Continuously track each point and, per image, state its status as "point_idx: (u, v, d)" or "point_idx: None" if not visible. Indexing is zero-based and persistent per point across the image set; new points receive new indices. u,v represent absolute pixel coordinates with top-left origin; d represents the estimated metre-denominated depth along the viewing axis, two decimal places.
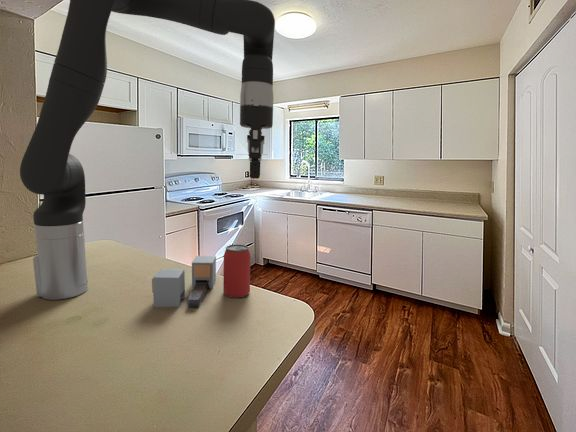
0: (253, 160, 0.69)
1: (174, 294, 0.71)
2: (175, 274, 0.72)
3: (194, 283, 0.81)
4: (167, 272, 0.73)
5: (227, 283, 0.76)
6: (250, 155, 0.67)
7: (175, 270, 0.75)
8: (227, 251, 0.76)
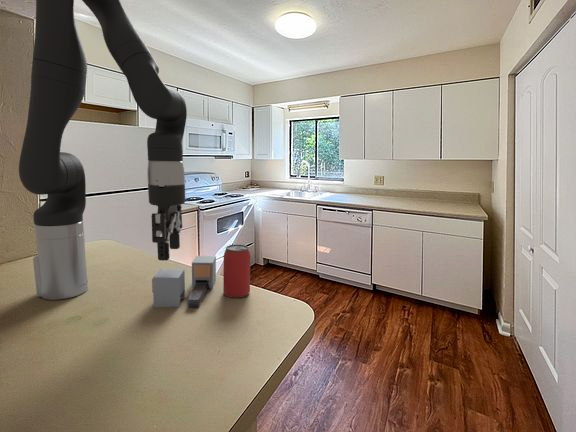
0: (159, 243, 0.66)
1: (174, 294, 0.71)
2: (175, 274, 0.72)
3: (194, 283, 0.81)
4: (167, 272, 0.73)
5: (227, 283, 0.76)
6: (153, 240, 0.64)
7: (175, 270, 0.75)
8: (227, 251, 0.76)
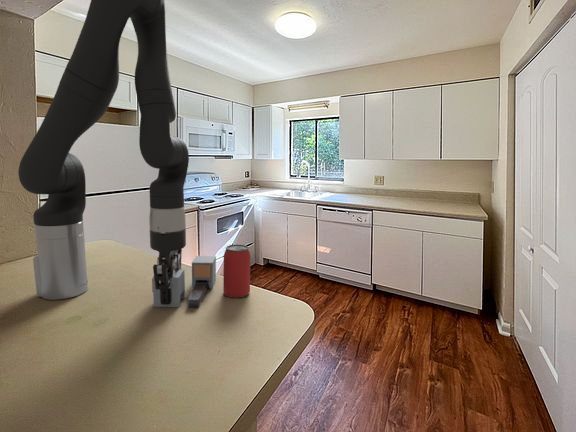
0: (162, 289, 0.69)
1: (174, 294, 0.71)
2: (175, 274, 0.72)
3: (194, 283, 0.81)
4: None
5: (227, 283, 0.76)
6: (157, 288, 0.67)
7: None
8: (227, 251, 0.76)
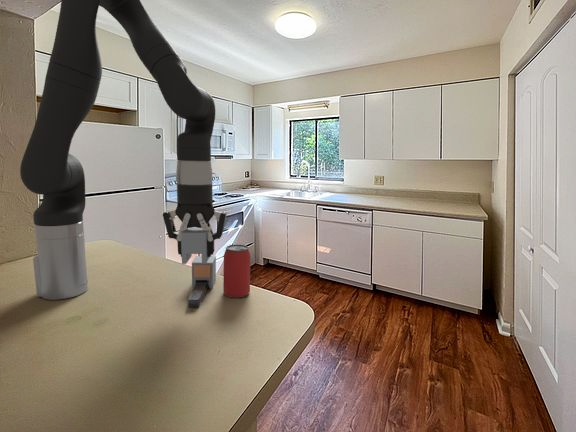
0: None
1: None
2: (190, 231, 0.70)
3: (194, 283, 0.81)
4: (197, 229, 0.72)
5: (227, 283, 0.76)
6: None
7: None
8: (227, 251, 0.76)
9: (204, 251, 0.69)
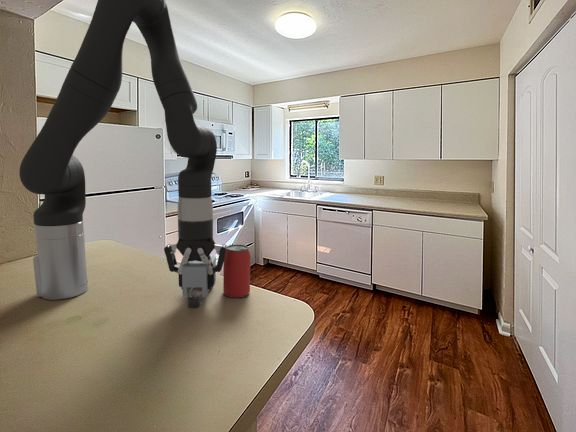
0: None
1: None
2: (191, 265, 0.71)
3: None
4: (198, 262, 0.73)
5: (227, 283, 0.76)
6: None
7: None
8: (227, 251, 0.76)
9: (204, 285, 0.71)
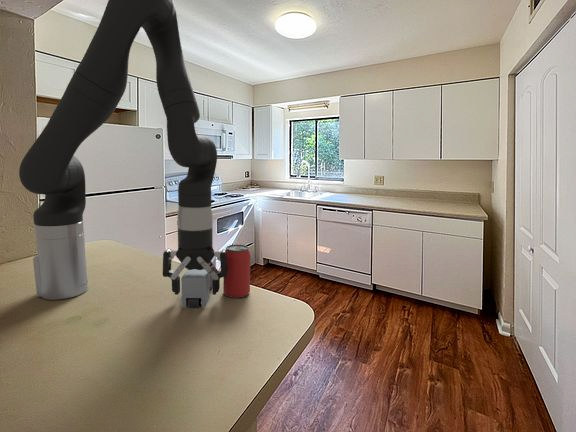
0: None
1: None
2: (190, 276, 0.71)
3: None
4: (198, 273, 0.73)
5: (227, 283, 0.76)
6: None
7: (204, 275, 0.72)
8: (227, 251, 0.76)
9: (204, 295, 0.71)
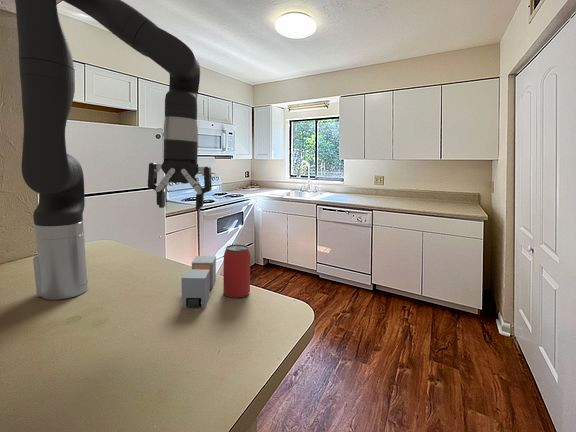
0: None
1: None
2: (190, 276, 0.71)
3: None
4: (198, 273, 0.73)
5: (227, 283, 0.76)
6: None
7: (204, 275, 0.72)
8: (227, 251, 0.76)
9: (204, 295, 0.71)
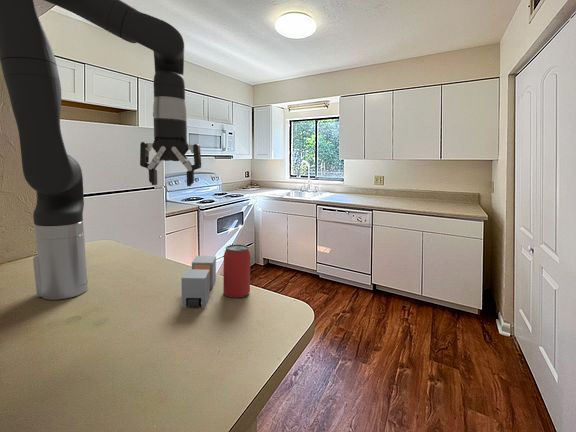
0: None
1: None
2: (190, 276, 0.71)
3: None
4: (198, 273, 0.73)
5: (227, 283, 0.76)
6: None
7: (204, 275, 0.72)
8: (227, 251, 0.76)
9: (204, 295, 0.71)
